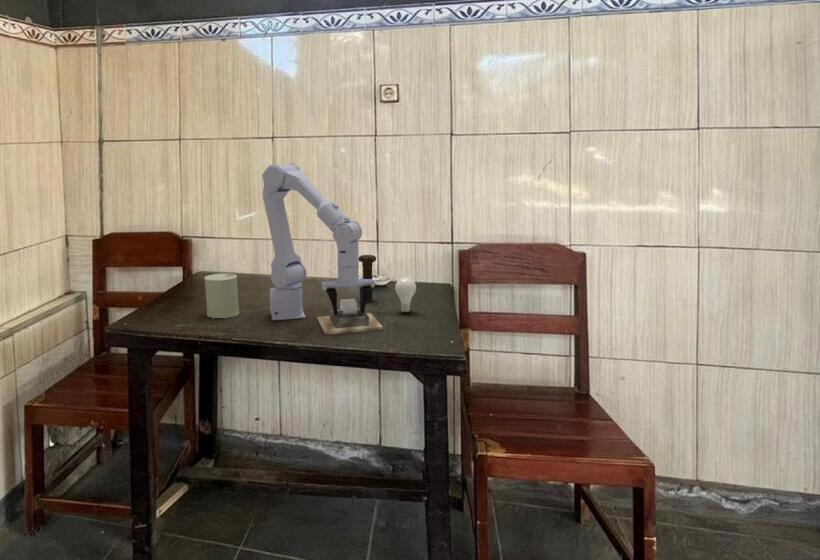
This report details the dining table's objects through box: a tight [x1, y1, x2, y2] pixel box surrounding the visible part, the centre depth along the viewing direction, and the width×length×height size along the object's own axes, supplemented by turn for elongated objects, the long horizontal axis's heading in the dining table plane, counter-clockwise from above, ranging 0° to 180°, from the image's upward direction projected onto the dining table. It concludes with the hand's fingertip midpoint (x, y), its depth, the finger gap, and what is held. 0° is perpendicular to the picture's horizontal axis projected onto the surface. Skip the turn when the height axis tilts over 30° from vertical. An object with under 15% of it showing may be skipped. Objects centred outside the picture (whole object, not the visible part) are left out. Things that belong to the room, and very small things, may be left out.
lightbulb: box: [394, 276, 417, 314], centre depth 163 cm, size 6×6×11 cm
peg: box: [339, 298, 358, 318], centre depth 152 cm, size 4×4×6 cm
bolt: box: [358, 254, 377, 303], centre depth 175 cm, size 6×5×15 cm
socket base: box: [316, 307, 384, 336], centre depth 152 cm, size 16×14×3 cm
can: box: [204, 273, 240, 319], centre depth 159 cm, size 9×9×12 cm
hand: (348, 312), depth 152 cm, fingers open, 7 cm apart
